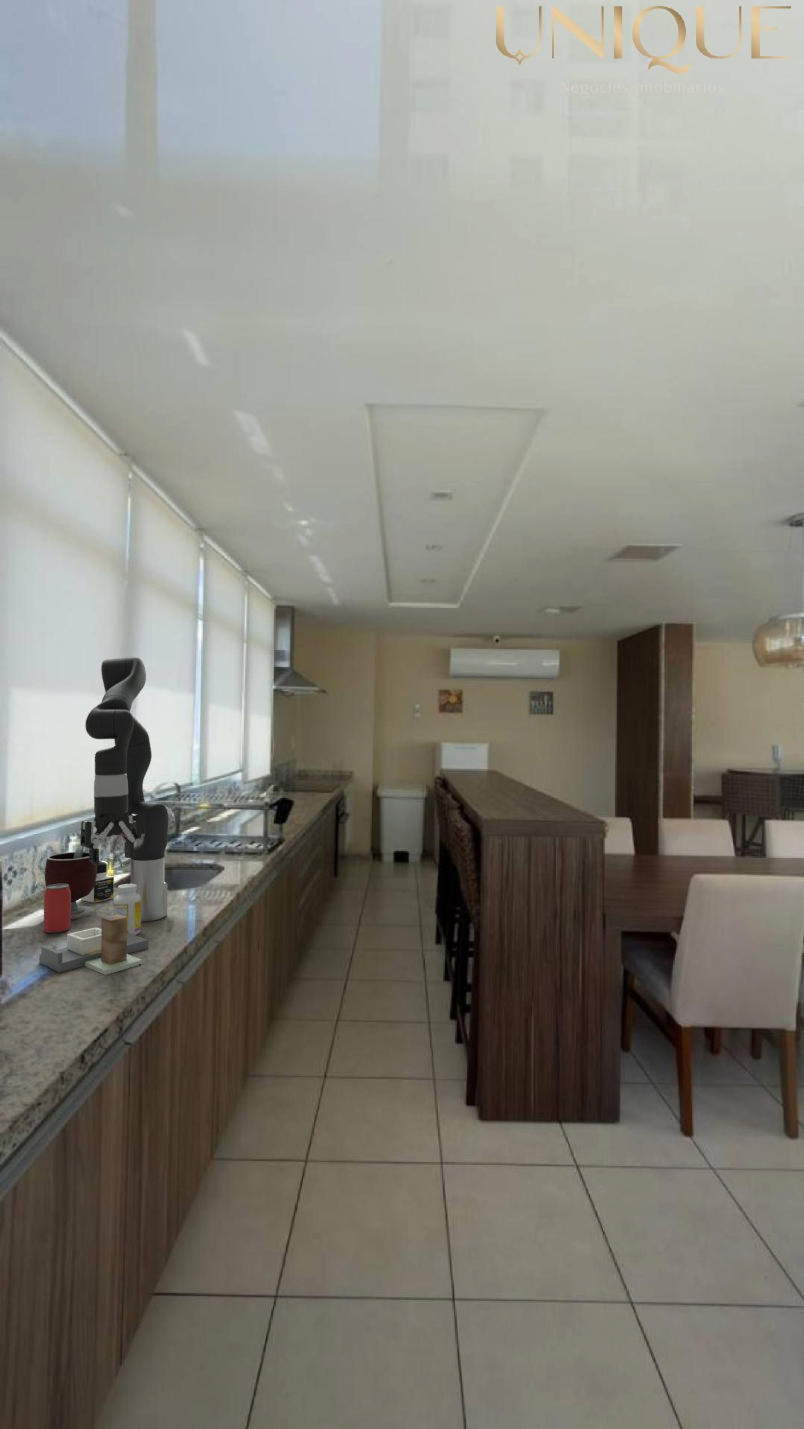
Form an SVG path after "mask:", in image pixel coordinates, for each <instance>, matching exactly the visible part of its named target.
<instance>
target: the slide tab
mask: <svg viewBox="0 0 804 1429" xmlns="http://www.w3.org/2000/svg"><path fill="white" fill-rule="evenodd" d="M66 948H67V949H68V950H71V951H73V952H76V953H78V954H81V955H84V954H88V953H92V952H96V951H100V950H101V927H92V928H88V929H84V930H83V929H82V930H79V931H76V932H70V933H67V934H66Z"/></svg>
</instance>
